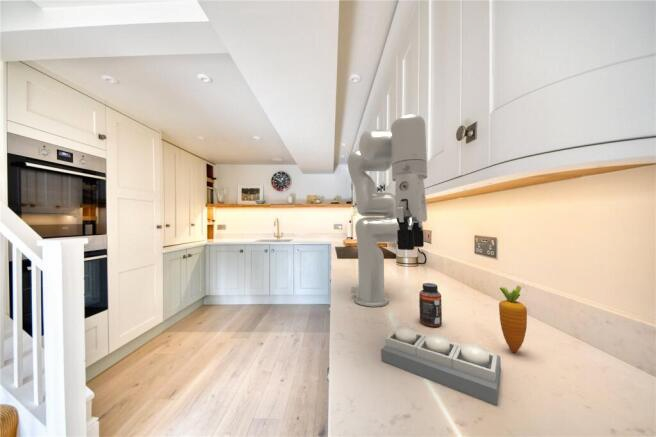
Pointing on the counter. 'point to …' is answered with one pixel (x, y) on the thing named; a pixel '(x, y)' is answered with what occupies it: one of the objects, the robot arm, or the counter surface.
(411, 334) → the button left
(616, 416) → the counter surface
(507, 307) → the carrot
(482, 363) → the button right
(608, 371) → the counter surface
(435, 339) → the button middle
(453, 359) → the panel
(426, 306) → the supplement bottle
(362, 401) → the counter surface
